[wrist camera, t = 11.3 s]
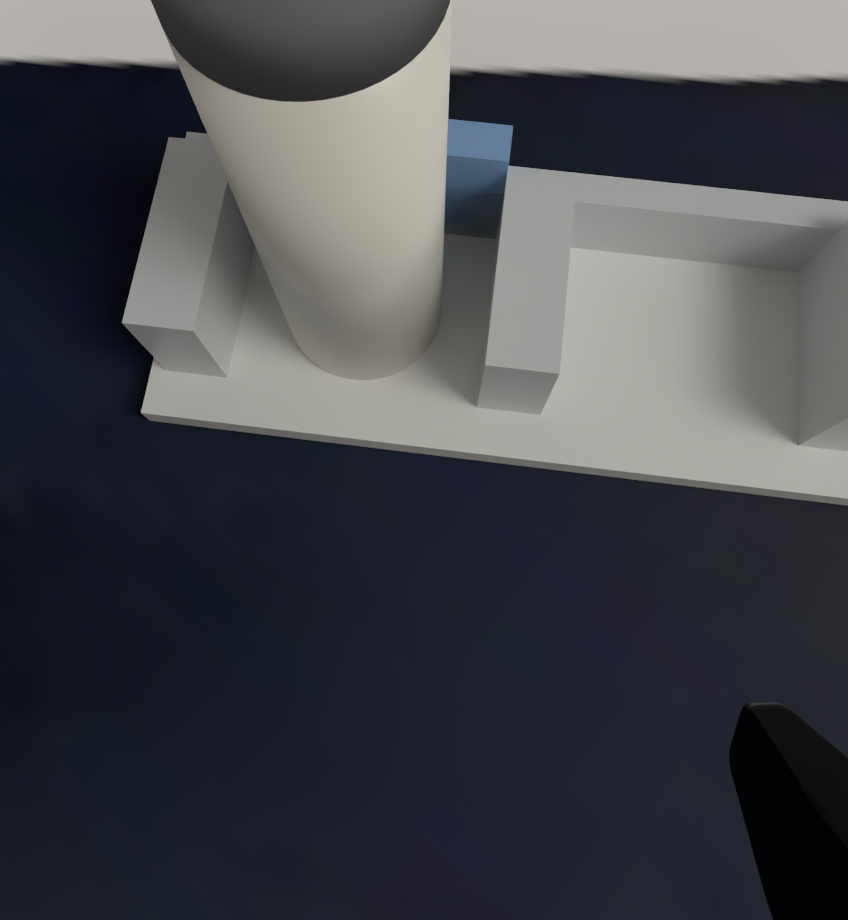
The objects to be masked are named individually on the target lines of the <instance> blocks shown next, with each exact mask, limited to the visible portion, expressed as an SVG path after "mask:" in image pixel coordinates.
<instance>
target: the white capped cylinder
mask: <svg viewBox="0 0 848 920" xmlns="http://www.w3.org/2000/svg"><path fill="white" fill-rule="evenodd" d="M151 2H152V4H153V6H154V9H155V11H156V13H157V16H158V18H159V20H160V23H161V25H162V27H163V30H164V32H165V35H166V37H167V39H168V42H169V44H170V46H171V49H172V51H173V53H174V56H175V58H176V61H177V63H178V65H179V68H180V70H181V72H182V75H183V77H184V79H185V82H186V84H187V87H188V89H189V91H190V94H191V96H192V98H193V101H194V103H195V105H196V108H197V110H198V113H199V115H200V117H201V120H202V122H203V124H204V127H205V129H206V131H207V134H208V136H209V138H210V141H211V143H212V146H213V148H214V150H215V153H216V155H217V157H218V160H219V162H220V164H221V167H222V169H223V172H224V174H225V176H226V179H227V181H228V183H229V186H230V188H231V190H232V193H233V195H234V197H235V200H236V202H237V205H238V207H239V209H240V212H241V214H242V216H243V219H244V221H245V223H246V226H247V228H248V231H249V233H250V235H251V238H252V240H253V242H254V245H255V247H256V249H257V252H258V254H259V257H260V259H261V261H262V264H263V266H264V268H265V271H266V273H267V275H268V278H269V280H270V282H271V285H272V287H273V290H274V292H275V294H276V297H277V299H278V301H279V304H280V306H281V308H282V311H283V313H284V316H285V318H286V320H287V323H288V325H289V327H290V330H291V332H292V334H293V337H294V339H295V341H296V343H297V345H298V346H299V348H300V349H301V350H302V352H303V353H304V354H305V355H306V356H307V357H308V358H309V359H310V361H312V362H313V363H314V364H316V365H317V366H318V367H320V368H321V369H323V370H325V371H327V372H329V373H331V374H334V375H336V376H339V377H343V378H347V379H354V380H372V379H379V378H383V377H387V376H390V375H393V374H396V373H398V372H400V371H402V370H404V369H405V368H407V367H408V366H410V365H411V364H413V363H414V362H415V361H416V360H418V359H419V358H420V357H421V356H422V355H423V354H424V352H425V351H426V350H427V349H428V347H429V346H430V344H431V343H432V341H433V339H434V337H435V335H436V333H437V330H438V327H439V324H440V318H441V303H442V275H443V246H444V218H445V190H446V162H447V134H448V106H449V77H450V49H451V48H450V47H451V21H452V0H151Z"/></svg>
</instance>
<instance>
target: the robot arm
mask: <svg viewBox="0 0 848 920" xmlns="http://www.w3.org/2000/svg"><path fill="white" fill-rule="evenodd" d="M729 763H730V769H731V773H732V777H733V781H734V784H735V788H736V792H737V795H738V799H739V802H740V806H741V810H742V813H743V817H744V821H745V824H746V828H747V832H748V835H749V839H750V842H751V846H752V850H753V853H754V857H755V861H756V864H757V868H758V872H759V875H760V879H761V883H762V886H763V889H764V893H765V896H766V899H767V903H768V906H769V909H770V912H771V915H772V918H773V920H848V758H847V757H846V756H845V755H843V754H842V753H841V752H840V751H839V750H838V749H836V748H835V747H834V746H833V745H832V744H830V743H829V742H828V741H827V740H826V739H825V738H823V737H822V736H821V735H820V734H819V733H818V732H816V731H815V730H814V729H813V728H812V727H810V726H809V725H808V724H807V723H806V722H805V721H803V720H802V719H801V718H800V717H799V716H798V715H796V714H795V713H794V712H793V711H792V710H790V709H789V708H788V707H786V706H784V705H783V704H780V703H749V704H746V705H745V706H744V707H743V708H742V710H741V712H740V716H739V719H738V722H737V726H736V729H735V733H734V736H733V739H732V743H731V746H730V751H729Z"/></svg>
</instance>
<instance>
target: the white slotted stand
mask: <svg viewBox="0 0 848 920" xmlns="http://www.w3.org/2000/svg"><path fill="white" fill-rule="evenodd" d="M512 131H513V126H510V125H500V124H491V123H481V122H471V121H462V120H452V119H448V134H447V162H446V190H445V218H444V246H443V275H442V303H441V318H440V324H439V327H438V330H437V333H436V335H435V337H434V339H433V341H432V343H431V344H430V346H429V347H428V349H427V350H426V351H425V352H424V354H423V355H422V356H421V357H420V358H419V359H418V360H416V361H415V362H414V363H413V364H411V365H410V366H408V367H407V368H405V369H404V370H402V371H400V372H398V373H396V374H393V375H390V376H387V377H383V378H379V379H372V380H354V379H347V378H343V377H339V376H336V375H334V374H331V373H329V372H327V371H325V370H323V369H321V368H320V367H318V366H317V365H316V364H314V363H313V362H312V361H310V359H309V358H308V357H307V356H306V355H305V354H304V353H303V352H302V350H301V349H300V348H299V346H298V345H297V343H296V341H295V339H294V337H293V334H292V332H291V330H290V327H289V325H288V323H287V320H286V318H285V316H284V313H283V311H282V308H281V306H280V304H279V301H278V299H277V297H276V294H275V292H274V290H273V287H272V285H271V282H270V280H269V278H268V275H267V273H266V271H265V268H264V266H263V264H262V261H261V259H260V257H259V254H258V252H257V249H256V247H255V245H254V242H253V240H252V238H251V235H250V233H249V231H248V228H247V226H246V223H245V221H244V219H243V216H242V214H241V212H240V209H239V207H238V205H237V202H236V200H235V197H234V195H233V193H232V190H231V188H230V186H229V183H228V181H227V179H226V176H225V174H224V172H223V169H222V167H221V164H220V162H219V160H218V157H217V155H216V153H215V150H214V148H213V146H212V143H211V141H210V138H209V136H208V134H203V133H194V132H187V134H186V138H185V139H183V138H173V137H169V139H168V143H167V146H166V150H165V154H164V158H163V162H162V166H161V170H160V174H159V178H158V182H157V186H156V190H155V194H154V198H153V202H152V206H151V209H150V213H149V217H148V221H147V225H146V229H145V233H144V237H143V241H142V245H141V249H140V253H139V257H138V261H137V265H136V269H135V273H134V276H133V280H132V284H131V288H130V292H129V296H128V300H127V304H126V308H125V312H124V316H123V320H122V324H123V325H124V326H125V327H126V328H127V329H128V330H129V331H130V332H131V333H132V334H133V335H134V336H135V338H136V339H137V340H138V341H139V342H140V343H141V344H142V345H143V346H144V347H145V348H146V349H147V350H148V351H149V352H150V354H151V355H152V356H153V357H154V359H153V363H152V367H151V372H150V376H149V380H148V384H147V388H146V393H145V397H144V401H143V405H142V409H141V414H143V415H144V416H145V417H146V418H147V419H149V420H150V421H157V422H165V423H173V424H182V425H190V426H198V427H206V428H214V429H223V430H231V431H239V432H247V433H256V434H264V435H272V436H280V437H288V438H297V439H305V440H313V441H321V442H329V443H338V444H346V445H354V446H362V447H371V448H379V449H387V450H395V451H403V452H412V453H420V454H428V455H436V456H444V457H453V458H461V459H469V460H477V461H486V462H494V463H502V464H510V465H518V466H527V467H535V468H543V469H551V470H559V471H568V472H576V473H584V474H592V475H601V476H609V477H617V478H625V479H633V480H642V481H650V482H658V483H666V484H674V485H683V486H691V487H699V488H707V489H716V490H724V491H732V492H740V493H748V494H757V495H765V496H773V497H781V498H790V499H798V500H806V501H814V502H822V503H831V504H839V505H847V506H848V202H846V201H837V200H827V199H818V198H808V197H799V196H789V195H780V194H770V193H761V192H752V191H742V190H733V189H723V188H714V187H704V186H695V185H685V184H676V183H666V182H657V181H648V180H638V179H629V178H619V177H610V176H600V175H591V174H581V173H572V172H562V171H553V170H544V169H534V168H525V167H515V166H508V165H509V158H510V149H511V140H512Z"/></svg>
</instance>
